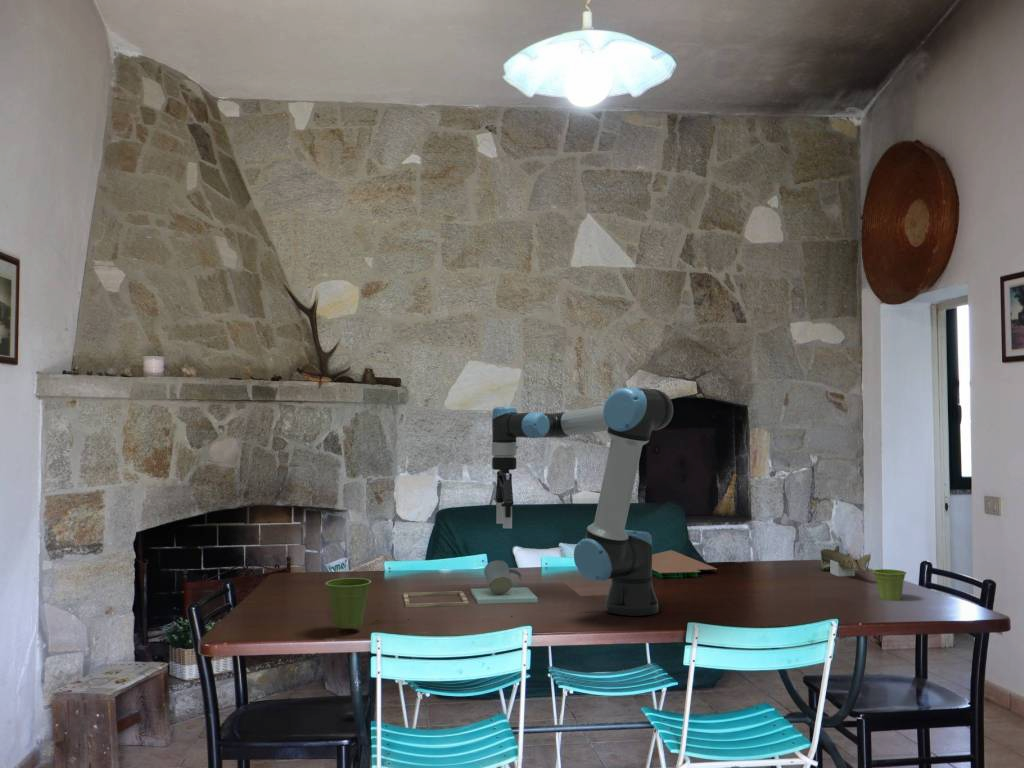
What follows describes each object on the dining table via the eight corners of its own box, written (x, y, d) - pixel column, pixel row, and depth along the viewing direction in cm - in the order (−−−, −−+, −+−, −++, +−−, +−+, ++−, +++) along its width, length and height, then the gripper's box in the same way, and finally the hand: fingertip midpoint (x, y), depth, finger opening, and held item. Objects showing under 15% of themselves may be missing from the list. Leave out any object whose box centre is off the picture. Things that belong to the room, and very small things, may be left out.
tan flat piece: (685, 565, 336) (685, 544, 337) (722, 580, 304) (722, 556, 304) (628, 567, 332) (628, 545, 332) (660, 582, 299) (659, 558, 300)
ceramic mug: (493, 599, 267) (486, 582, 263) (488, 581, 274) (480, 564, 270) (526, 587, 268) (519, 569, 264) (519, 569, 275) (513, 552, 271)
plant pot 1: (330, 619, 237) (331, 577, 237) (374, 620, 236) (375, 578, 237) (319, 629, 225) (320, 585, 226) (365, 630, 225) (366, 585, 225)
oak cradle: (469, 605, 257) (469, 602, 257) (405, 607, 254) (405, 604, 254) (462, 593, 275) (462, 591, 275) (403, 595, 272) (403, 592, 272)
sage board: (537, 602, 262) (537, 598, 262) (477, 603, 259) (477, 599, 259) (527, 591, 280) (527, 587, 280) (470, 592, 277) (470, 588, 277)
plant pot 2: (874, 601, 265) (873, 572, 265) (872, 596, 274) (872, 568, 274) (908, 604, 262) (907, 574, 262) (905, 598, 271) (905, 570, 271)
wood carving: (856, 589, 286) (856, 554, 287) (811, 571, 321) (811, 540, 322) (883, 588, 287) (882, 554, 288) (835, 571, 322) (835, 540, 322)
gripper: (523, 457, 260) (523, 530, 259) (509, 455, 285) (509, 521, 283) (498, 457, 259) (497, 530, 258) (486, 455, 283) (486, 521, 282)
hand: (504, 526), depth 271 cm, fingers open, 13 cm apart
